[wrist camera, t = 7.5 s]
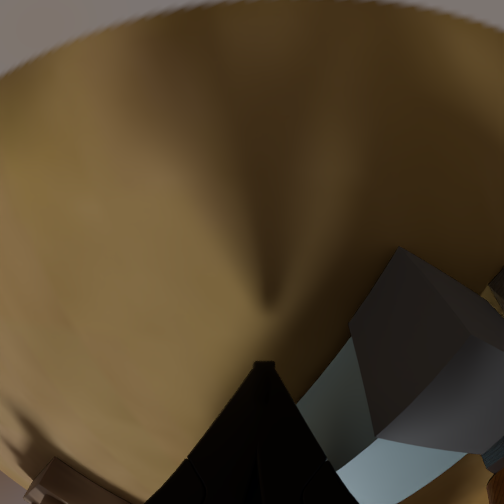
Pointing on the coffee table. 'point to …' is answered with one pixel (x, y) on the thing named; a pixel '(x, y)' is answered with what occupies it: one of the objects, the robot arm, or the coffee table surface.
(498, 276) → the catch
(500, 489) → the disposable coffee cup
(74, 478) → the stool seat
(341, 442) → the hinged leg
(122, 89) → the coffee table surface
